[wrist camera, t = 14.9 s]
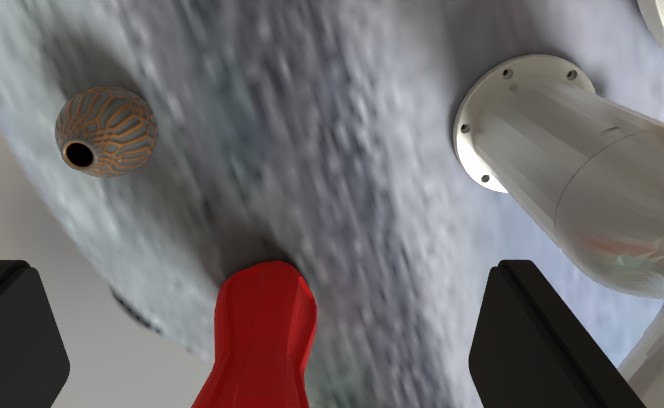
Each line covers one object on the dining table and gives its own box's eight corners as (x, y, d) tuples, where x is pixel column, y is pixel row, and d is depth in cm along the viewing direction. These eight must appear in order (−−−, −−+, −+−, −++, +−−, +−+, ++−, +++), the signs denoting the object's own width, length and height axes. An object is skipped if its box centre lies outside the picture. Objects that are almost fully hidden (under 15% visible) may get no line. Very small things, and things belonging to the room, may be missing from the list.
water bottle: (258, 346, 51) (219, 633, 28) (209, 277, 46) (117, 559, 24) (331, 319, 49) (349, 600, 27) (289, 246, 44) (269, 514, 22)
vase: (124, 169, 40) (79, 216, 32) (66, 105, 37) (1, 140, 29) (183, 131, 38) (152, 170, 31) (128, 61, 35) (77, 85, 28)
